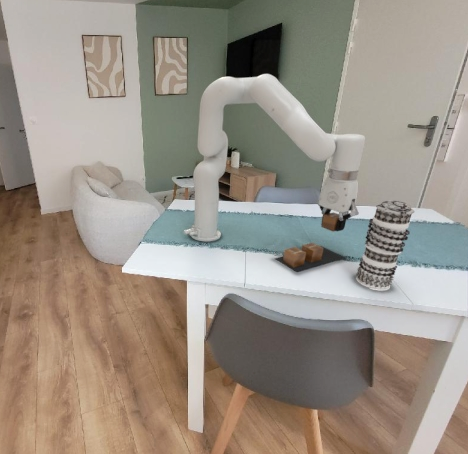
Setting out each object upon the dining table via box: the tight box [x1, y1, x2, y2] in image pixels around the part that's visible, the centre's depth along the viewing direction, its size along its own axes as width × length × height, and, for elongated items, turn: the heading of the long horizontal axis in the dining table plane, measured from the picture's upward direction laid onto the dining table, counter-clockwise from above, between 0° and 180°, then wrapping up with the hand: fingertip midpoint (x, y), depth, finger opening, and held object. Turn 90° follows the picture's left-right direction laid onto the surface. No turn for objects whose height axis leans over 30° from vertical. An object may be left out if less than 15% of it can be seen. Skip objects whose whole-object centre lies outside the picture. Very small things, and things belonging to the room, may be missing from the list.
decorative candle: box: [355, 200, 415, 292], centre depth 82 cm, size 9×9×25 cm
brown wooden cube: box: [283, 246, 306, 268], centre depth 98 cm, size 5×5×5 cm
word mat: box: [274, 245, 346, 273], centre depth 101 cm, size 22×10×1 cm, turn 111°
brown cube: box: [300, 242, 323, 263], centre depth 100 cm, size 5×5×5 cm
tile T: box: [321, 211, 339, 232], centre depth 98 cm, size 5×5×5 cm
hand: (332, 227), depth 99 cm, fingers closed on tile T, 4 cm apart
